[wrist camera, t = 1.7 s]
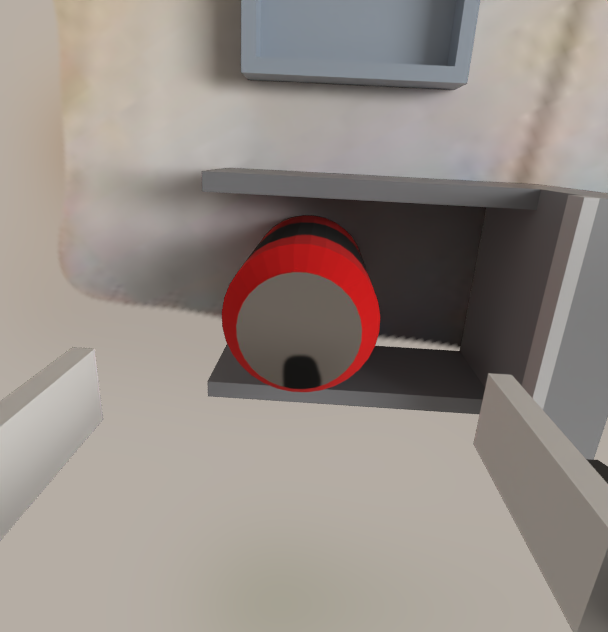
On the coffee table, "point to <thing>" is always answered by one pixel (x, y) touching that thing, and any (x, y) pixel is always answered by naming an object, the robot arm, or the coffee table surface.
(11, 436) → the robot arm
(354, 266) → the soda can
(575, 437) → the gray open box
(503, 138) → the coffee table surface
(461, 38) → the tray
